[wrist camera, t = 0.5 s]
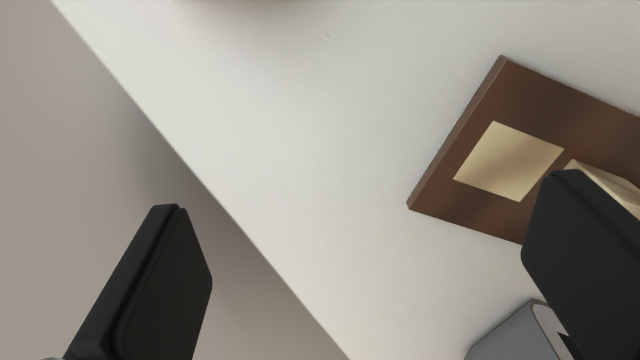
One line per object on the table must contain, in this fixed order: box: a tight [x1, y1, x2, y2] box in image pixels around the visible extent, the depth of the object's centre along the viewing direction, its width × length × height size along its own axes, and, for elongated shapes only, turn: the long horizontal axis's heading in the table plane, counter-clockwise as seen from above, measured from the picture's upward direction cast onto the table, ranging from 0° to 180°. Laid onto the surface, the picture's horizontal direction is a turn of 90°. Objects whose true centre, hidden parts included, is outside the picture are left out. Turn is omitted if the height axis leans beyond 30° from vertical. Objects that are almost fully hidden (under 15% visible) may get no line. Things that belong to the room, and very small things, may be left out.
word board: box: [407, 55, 640, 245], centre depth 27 cm, size 22×12×1 cm, turn 69°
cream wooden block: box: [535, 159, 640, 220], centre depth 25 cm, size 5×4×5 cm
